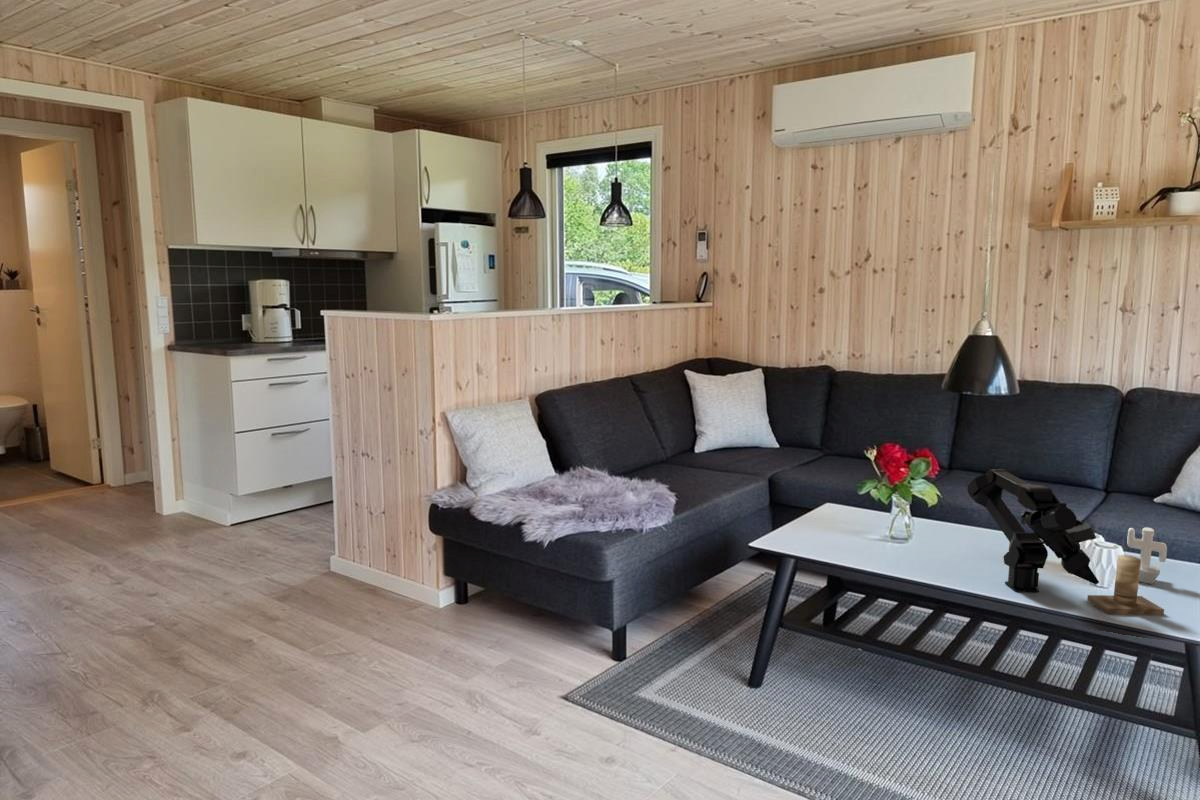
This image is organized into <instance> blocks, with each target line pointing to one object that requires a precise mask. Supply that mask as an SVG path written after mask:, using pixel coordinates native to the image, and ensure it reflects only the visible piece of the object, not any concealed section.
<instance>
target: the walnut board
mask: <svg viewBox="0 0 1200 800" xmlns="http://www.w3.org/2000/svg"><path fill="white" fill-rule="evenodd" d="M1113 598H1114V595H1105V594H1104V595H1101V594H1100V595H1098V594H1088V595H1087V602H1089V603H1091V605H1093V604H1094V605H1093V606H1095V607H1096V606H1097V607H1096V608H1098V609H1099V610H1100V611H1102V612H1104V613H1105V614H1107V615H1129V616H1130V615H1133V616H1135V615H1136V616H1137V615H1138V616H1139V615H1140V616H1142V615H1144V616H1164V614H1165V609H1164V608H1163V607H1161V606H1159V605H1157V604H1155V602H1152V601H1150V600H1149V599H1147V598H1145V597H1144V596H1142V595H1137V602H1136V605H1134V606H1127V605H1121V604H1118V603H1116V602H1114V601H1113Z"/></svg>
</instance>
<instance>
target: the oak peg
mask: <svg viewBox="0 0 1200 800" xmlns="http://www.w3.org/2000/svg"><path fill="white" fill-rule="evenodd" d="M1140 564H1141V559H1140V557H1136V556H1133V555H1127V554H1126V555H1125V554H1122V555H1121V554H1120V555H1118V556H1117V560H1116V570H1115V571H1116V572H1115V579H1114V580H1115V581H1114V589H1113V596H1114V598H1113V601H1114V602H1116V603H1118V604H1121V605H1127V606H1134V605H1136V602H1137V596H1138V591H1139V573H1140Z"/></svg>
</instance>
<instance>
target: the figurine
mask: <svg viewBox="0 0 1200 800" xmlns="http://www.w3.org/2000/svg"><path fill="white" fill-rule="evenodd" d="M1135 533H1136V530H1135V528H1133V527H1129V528H1128V530H1127V538H1126V539H1127V540H1126V543H1127V546H1128V548H1132V549H1137V550H1140V557H1139V559H1141V564H1140V573H1139V582H1141V583H1146V584H1151V585H1153V583H1154V582H1155V581H1156V579H1158V577H1159V575H1161V574H1160V572H1161V566H1159V565H1153V564H1152V565H1151V560H1152V559H1151V558H1152V552H1156V553H1159V554H1158V560H1159V562H1161V563H1165V562H1166V561H1167V553H1168V546H1167V544H1166V543H1165V542H1161V541H1160V542H1159V541H1154V540H1153V539H1154V536H1155V530H1154V529H1153V528H1152V527H1148V526H1147V527H1143V528H1142V530H1141V535H1142V537H1141V538H1136V535H1135Z"/></svg>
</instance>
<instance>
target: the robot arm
mask: <svg viewBox="0 0 1200 800" xmlns="http://www.w3.org/2000/svg"><path fill="white" fill-rule="evenodd" d="M966 489H967V494H968V495H969V497H970V498H971V499H972V500H973V501H974V502H975V503H976V504H978V505H980V506H982V507H983V508H986V511H988V513H989V514H990V516H991V517H992V519H993V520H994V521H995V523H996V524H997V526H998V527H999V529H1000V530H1001V531H1002V533H1003V534H1004V536H1005V538H1006V539H1007V540H1008V541H1009V545H1008V551H1007V552H1006V553H1005V554H1004V555H1003V563H1004V565H1006V566H1008V575H1007V576H1008V577H1007V578H1008V579H1007V581H1006V580H1005V581H1004V584H1005V585H1006V586H1007V587H1009V588H1011V590H1013V591H1014V592H1022V593H1023V592H1026V593H1028V592H1029V593H1032V592H1033V593H1038V592H1040V589H1039V588H1038V587H1039V578H1040V577H1039V576H1040V573H1039V572H1038V570H1039V569H1044V567H1045V565H1046V562H1047V559H1048V556H1049V553H1048V550H1047V547H1048V548H1049V549H1050V550H1051V551H1052V552H1053V554H1054V555H1055V556H1056V557H1057V558H1058V559H1061V561H1060V564H1061V566H1062V568H1063V569H1064V570H1065V571H1066V572H1067V573H1068V574H1070V575H1073V576H1076V577H1078V578H1081V579H1082V580H1084V581H1087V582H1089V583H1091V584H1094V585H1097V584H1099V582H1100V581H1099V580H1098V578H1097V576H1096V575H1095V573H1094V572H1093V570H1092V569H1091V568H1090V563H1091V559H1090V556H1088V554H1087V553H1086V552H1085V551H1084V550H1083V549H1081V544H1080V543H1082V542H1086V541H1092V540H1096V538H1097V536H1096V534H1095V531H1094V529H1093V527H1092V525H1091V524H1090V523H1089V522H1082V520H1080V519H1078V518H1077V516H1076V514H1075V513H1074V511H1073V510H1072V509H1070V508H1069V507H1068V506H1067V503H1066V502H1061V501H1059V499H1058V497H1056V495H1055V493H1054V492H1053V490H1052V488H1050V487H1048V486H1044V485H1040V484H1032V483H1028V482H1027V481H1025V480H1023V479H1021V478H1020V477H1017V476H1016V475H1013V474H1012V473H1010V472H1009V471H1008V470H1006V469H1003V468H999V469H994V468H993V469H989V470H987V471H986V472H985V473H984V474H983V473H982V474H981V475H980V476H977V477H975V478H974V479H972V480H971V481H970V482H969V484H968V485H967V487H966ZM1004 491H1006V492H1008V493H1010V494H1012V495H1014V496H1015V497H1016V498H1017V503H1019V504H1020V505H1021V506H1022V507H1023V508H1025V509H1026V510H1025V511H1024V512H1023V513H1022V514H1021V516H1020V517H1021V519H1020V522H1019V521H1018V520H1017V518H1016V517H1015V516H1014V515H1015V514H1013V512H1012V511H1011V510H1010V509H1009V507H1008V506H1007V504H1006V503H1005V502H1004V500H1003V499H1002V497H1003V492H1004ZM1027 509H1029V510H1030V511H1027ZM1021 524H1022V525H1027V526H1028V527H1029V529H1031V531H1033V532H1026V531H1025V529H1024V527H1023V526H1022V525H1021Z"/></svg>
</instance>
